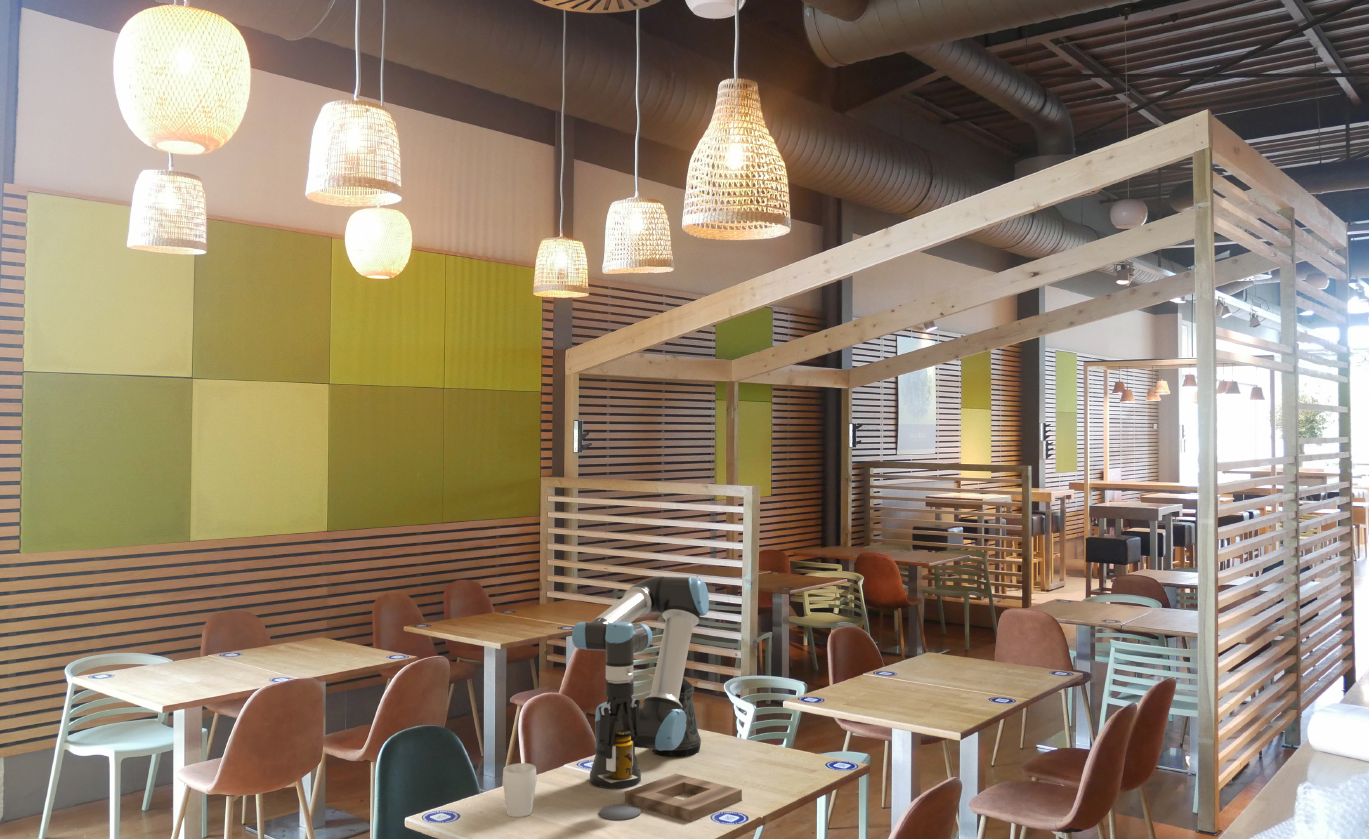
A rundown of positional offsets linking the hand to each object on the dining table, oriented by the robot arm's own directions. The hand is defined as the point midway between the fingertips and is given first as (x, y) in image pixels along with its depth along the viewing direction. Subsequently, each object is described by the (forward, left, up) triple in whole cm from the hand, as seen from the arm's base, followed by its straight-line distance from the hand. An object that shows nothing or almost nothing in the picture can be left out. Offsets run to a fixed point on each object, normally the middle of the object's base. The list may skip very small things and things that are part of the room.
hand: (619, 767), depth 275 cm
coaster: (0, 0, -12) cm, 12 cm away
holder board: (+7, +18, -12) cm, 23 cm away
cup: (-21, -17, -12) cm, 30 cm away
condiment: (0, -1, -3) cm, 3 cm away
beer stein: (-27, +56, -12) cm, 63 cm away
